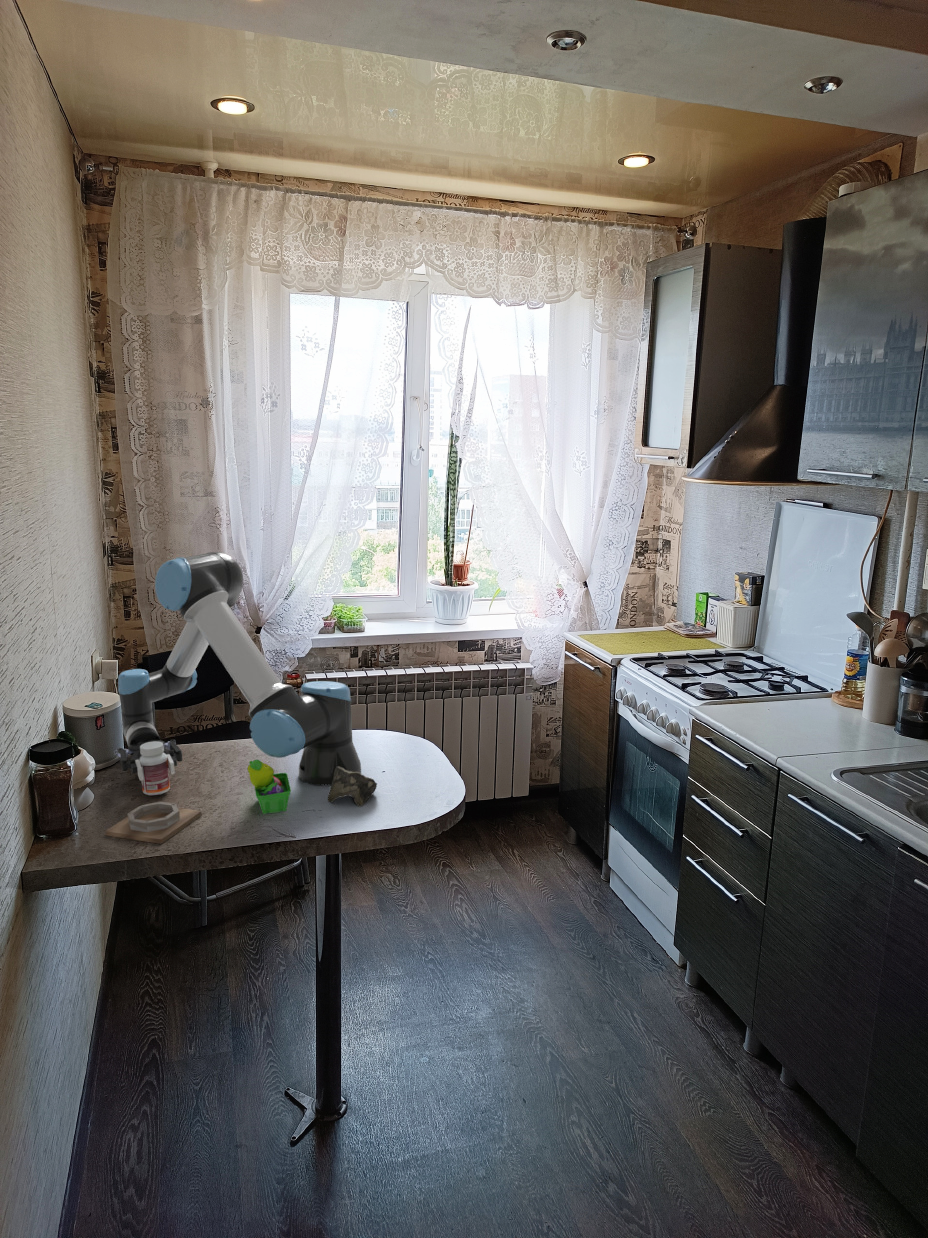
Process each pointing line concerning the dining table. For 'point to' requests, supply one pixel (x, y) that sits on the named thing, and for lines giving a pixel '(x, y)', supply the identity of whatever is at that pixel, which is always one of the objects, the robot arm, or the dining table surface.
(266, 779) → the fruit basket
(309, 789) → the dining table surface
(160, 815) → the carrier plate
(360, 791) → the fossil
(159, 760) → the pill bottle
